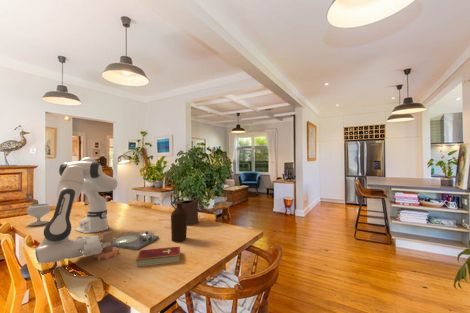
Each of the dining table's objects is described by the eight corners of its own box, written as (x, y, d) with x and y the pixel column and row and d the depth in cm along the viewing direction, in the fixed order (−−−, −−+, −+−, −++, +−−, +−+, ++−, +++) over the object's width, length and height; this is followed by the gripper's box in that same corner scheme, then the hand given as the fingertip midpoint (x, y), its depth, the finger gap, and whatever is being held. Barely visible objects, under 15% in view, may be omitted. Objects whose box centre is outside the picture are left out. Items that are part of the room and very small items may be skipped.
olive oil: (185, 242, 136) (185, 203, 136) (168, 242, 136) (168, 202, 136) (188, 236, 146) (189, 199, 147) (173, 236, 147) (173, 199, 147)
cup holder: (197, 226, 171) (197, 194, 171) (167, 225, 171) (167, 194, 172) (201, 219, 189) (201, 191, 190) (174, 219, 190) (174, 191, 190)
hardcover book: (139, 257, 116) (139, 249, 116) (179, 253, 122) (179, 245, 122) (135, 268, 104) (135, 259, 104) (180, 262, 110) (180, 254, 110)
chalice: (47, 220, 184) (47, 202, 184) (52, 223, 176) (52, 204, 176) (24, 224, 173) (25, 205, 173) (29, 227, 165) (29, 207, 165)
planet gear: (89, 257, 114) (90, 235, 114) (108, 249, 125) (108, 228, 125) (106, 260, 111) (107, 237, 111) (124, 251, 122) (124, 230, 122)
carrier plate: (104, 245, 131) (104, 236, 131) (129, 234, 150) (129, 226, 150) (137, 250, 124) (137, 240, 124) (158, 238, 143) (159, 229, 143)
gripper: (79, 248, 102) (112, 241, 110) (78, 235, 118) (107, 231, 126) (79, 261, 102) (112, 253, 110) (77, 247, 118) (107, 241, 126)
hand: (109, 241), depth 118 cm, fingers closed on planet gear, 5 cm apart
